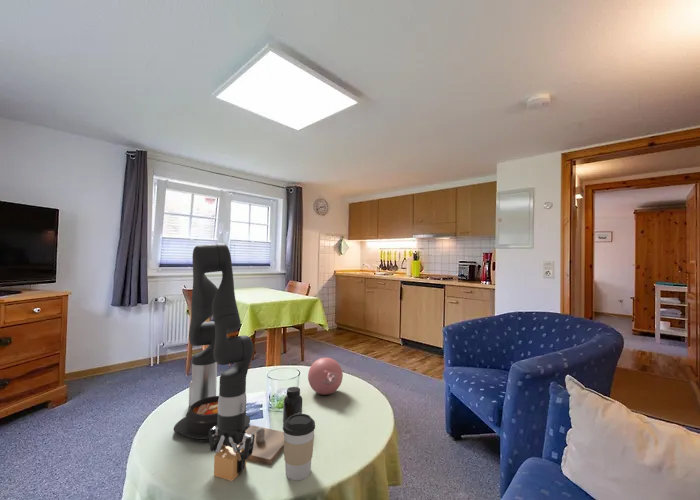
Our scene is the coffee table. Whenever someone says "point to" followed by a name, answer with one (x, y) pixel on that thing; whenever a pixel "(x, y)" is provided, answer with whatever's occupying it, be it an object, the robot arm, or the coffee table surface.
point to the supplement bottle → (292, 403)
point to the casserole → (201, 419)
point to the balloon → (325, 376)
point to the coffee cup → (298, 445)
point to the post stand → (265, 444)
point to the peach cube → (226, 464)
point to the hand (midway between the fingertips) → (230, 468)
